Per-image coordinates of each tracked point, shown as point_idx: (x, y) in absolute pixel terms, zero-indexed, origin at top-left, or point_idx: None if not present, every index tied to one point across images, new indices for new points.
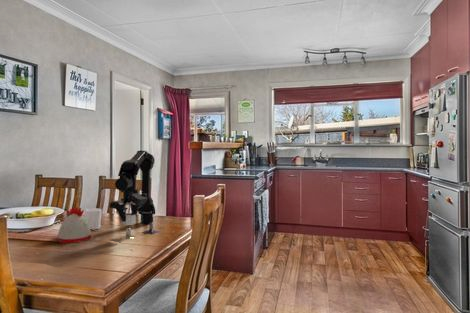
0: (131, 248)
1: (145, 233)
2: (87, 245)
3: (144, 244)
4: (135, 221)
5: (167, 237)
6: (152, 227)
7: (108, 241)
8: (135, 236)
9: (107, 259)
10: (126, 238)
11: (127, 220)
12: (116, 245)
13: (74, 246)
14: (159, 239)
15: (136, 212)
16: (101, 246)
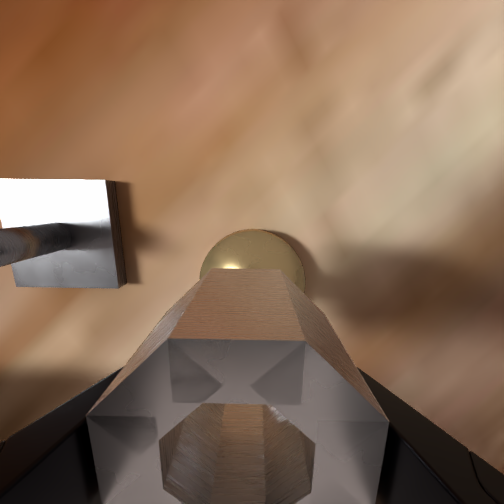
0: (412, 99)
1: (113, 243)
2: (460, 378)
3: (293, 83)
4: (206, 279)
5: (48, 47)
6: (16, 227)
7: (349, 341)
8: (214, 250)
9: None
10: (286, 268)
11: (333, 337)
12: (396, 242)
13: (498, 416)
14: (130, 69)
15: (33, 439)
16: (448, 303)
